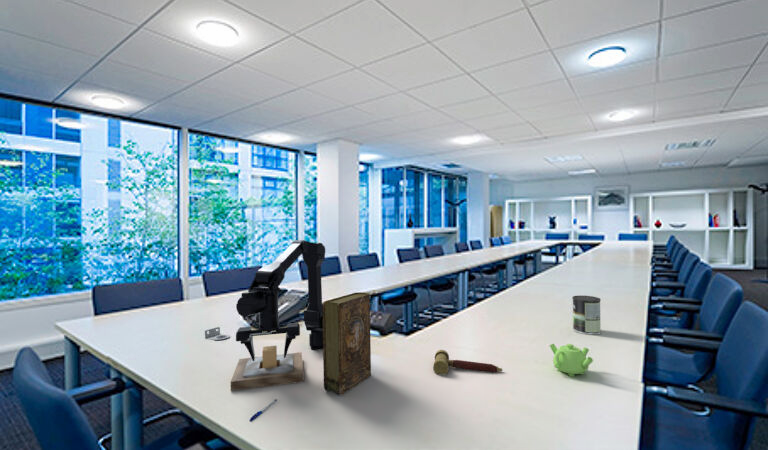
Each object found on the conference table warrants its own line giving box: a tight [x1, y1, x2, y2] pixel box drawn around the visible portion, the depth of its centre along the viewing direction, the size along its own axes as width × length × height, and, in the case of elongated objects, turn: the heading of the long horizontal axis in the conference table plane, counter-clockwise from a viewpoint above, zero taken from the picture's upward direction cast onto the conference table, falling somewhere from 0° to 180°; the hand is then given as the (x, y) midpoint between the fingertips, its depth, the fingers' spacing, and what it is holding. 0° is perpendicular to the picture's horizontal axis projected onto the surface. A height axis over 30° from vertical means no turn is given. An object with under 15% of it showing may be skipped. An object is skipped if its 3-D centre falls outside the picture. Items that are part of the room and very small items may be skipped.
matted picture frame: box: [230, 352, 305, 392], centre depth 111 cm, size 20×18×3 cm
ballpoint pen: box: [249, 399, 278, 422], centre depth 89 cm, size 10×1×1 cm, turn 164°
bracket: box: [204, 326, 231, 341], centre depth 149 cm, size 7×10×4 cm, turn 57°
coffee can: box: [572, 295, 602, 336], centre depth 149 cm, size 10×10×14 cm
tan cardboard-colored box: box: [262, 345, 278, 368], centre depth 111 cm, size 4×4×8 cm
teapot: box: [549, 343, 594, 378], centre depth 109 cm, size 11×12×8 cm
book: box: [322, 291, 372, 396], centre depth 103 cm, size 16×6×25 cm, turn 148°
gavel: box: [432, 349, 503, 375], centre depth 111 cm, size 21×5×10 cm
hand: (269, 359), depth 111 cm, fingers open, 9 cm apart
